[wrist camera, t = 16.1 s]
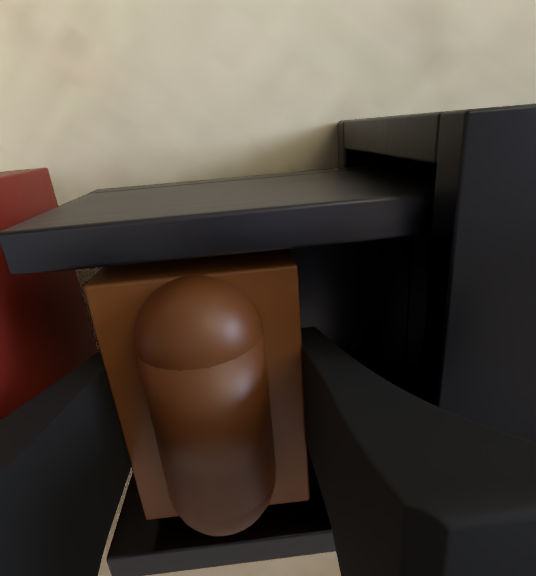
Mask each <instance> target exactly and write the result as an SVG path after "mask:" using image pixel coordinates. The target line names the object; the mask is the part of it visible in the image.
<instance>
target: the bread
mask: <svg viewBox="0 0 536 576" xmlns="http://www.w3.org/2000/svg"><path fill="white" fill-rule="evenodd" d="M84 292H85V296H86V300H87V303H88V307H89V311H90V314H91V318H92V322H93V325H94V329H95V333H96V337H97V340H98V344H99V348H100V351H101V355H102V359H103V362H104V366H105V370H106V374H107V377H108V381H109V385H110V388H111V392H112V396H113V399H114V403H115V407H116V411H117V414H118V418H119V422H120V425H121V429H122V433H123V436H124V440H125V444H126V448H127V451H128V455H129V459H130V462H131V466H132V470H133V473H134V477H135V481H136V485H137V488H138V492H139V496H140V499H141V503H142V507H143V510H144V514H145V518H146V520H153V519H161V518H169V517H177V516H180V517H181V519H182V520H183V521H184V522H185V523H186V524H187V525H188V526H190V527H191V528H193V529H194V530H196V531H198V532H201V533H203V534H206V535H211V536H227V535H232V534H235V533H238V532H240V531H243V530H244V529H246V528H248V527H249V526H251V525H252V524H253V523H254V522H255V521H256V520H258V518H259V517H260V516H261V515H262V513H263V512H264V511H265V509H266V508H267V506H268V505H275V504H283V503H291V502H300V501H307V500H309V498H310V491H309V472H308V453H307V439H306V419H305V400H304V381H303V362H302V338H301V318H300V299H299V280H298V267H297V264H296V262H295V260H294V258H293V256H292V253H291V251H290V249H283V250H273V251H263V252H252V253H242V254H231V255H221V256H210V257H200V258H190V259H179V260H169V261H158V262H148V263H138V264H127V265H117V266H106V267H102V268H101V269H100V270H99V271H98V272H97V273H96V274H95V275H94V276H93V277H92V278H91V279H90V280H89V281H88V282H87V283H86V284H85V285H84Z"/></svg>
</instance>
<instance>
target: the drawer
mask: <svg viewBox="0 0 536 576" xmlns="http://www.w3.org/2000/svg"><path fill="white" fill-rule="evenodd" d="M436 169H437V164H432V163H426V162H420V161H415V162H403V163H392V164H381V165H369V166H358V167H347V168H335V169H324V170H313V171H301V172H290V173H279V174H267V175H256V176H245V177H233V178H222V179H211V180H199V181H188V182H177V183H165V184H154V185H143V186H131V187H120V188H109V189H97V190H95V191H93V192H90V193H88V194H86V195H84V196H82V197H79V198H77V199H75V200H72V201H70V202H68V203H65V204H63V205H61V206H58V205H57V201H56V197H55V194H54V190H53V186H52V183H51V179H50V175H49V172H48V169H47V168H37V169H26V170H14V171H5V172H0V420H1V419H2V418H4V417H5V416H7V415H8V414H10V413H11V412H13V411H14V410H16V409H17V408H19V407H20V406H22V405H23V404H25V403H26V402H28V401H29V400H31V399H32V398H34V397H35V396H37V395H38V394H40V393H41V392H43V391H44V390H45V389H47V388H48V387H50V386H51V385H52V384H54V383H55V382H57V381H58V380H59V379H61V378H62V377H64V376H65V375H66V374H68V373H69V372H70V371H72V370H73V369H75V368H76V367H77V366H79V365H80V364H82V363H83V362H84V361H86V360H87V359H89V358H90V357H92V356H93V355H95V354H96V353H98V351H97V347H96V344H95V340H94V336H93V333H92V329H91V325H90V322H89V318H88V314H87V311H86V307H85V303H84V300H83V296H82V292H81V289H80V285H79V281H78V278H77V274H76V270H75V269H85V268H96V267H106V266H117V265H127V264H138V263H148V262H158V261H169V260H179V259H190V258H200V257H210V256H221V255H231V254H242V253H252V252H263V251H273V250H283V249H290V251H291V253H292V256H293V258H294V260H295V262H296V264H297V267H298V280H299V299H300V318H301V328H305V327H316V328H317V329H318V330H319V331H321V332H322V333H323V334H324V335H325V336H326V337H328V338H329V339H330V340H331V341H332V342H334V343H335V344H336V345H337V346H338V347H340V348H341V349H342V350H343V351H345V352H346V353H347V354H349V355H350V356H351V357H353V358H354V359H355V360H357V361H358V362H360V363H361V364H362V365H364V366H365V367H367V368H368V369H370V370H371V371H373V372H374V373H376V374H377V375H379V376H380V377H382V378H384V379H385V380H387V381H389V382H390V383H392V384H394V385H395V386H397V387H399V388H401V389H403V390H405V391H407V392H409V393H410V394H412V395H414V396H416V397H418V398H419V389H420V376H421V363H422V350H423V337H424V324H425V311H426V298H427V285H428V272H429V259H430V246H431V234H432V221H433V208H434V195H435V182H436ZM307 453H308V472H309V491H310V498H309V500H307V501H300V502H291V503H283V504H275V505H268V506H267V508H266V509H265V511H264V512H263V513H262V515H261V516H260V517H259V518H258V520H256V521H255V522H254V523H253V524H252V525H251V526H249V527H248V528H246V529H244V530H243V531H240V532H238V533H235V534H232V535H227V536H211V535H206V534H203V533H201V532H198V531H196V530H194V529H193V528H191V527H190V526H188V525H187V524H186V523H185V522H184V521H183V520H182V519H181V517H180V516H177V517H169V518H161V519H153V520H146V518H145V514H144V510H143V507H142V503H141V499H140V496H139V492H138V488H137V485H136V481H135V477H134V473H132V476H131V479H130V483H129V486H128V489H127V493H126V496H125V499H124V503H123V506H122V509H121V513H120V516H119V519H118V522H117V526H116V529H115V532H114V536H113V539H112V542H111V546H110V549H109V552H108V556H107V563H108V566H109V569H110V572H111V575H112V576H145V575H153V574H161V573H168V572H176V571H184V570H192V569H200V568H208V567H216V566H223V565H231V564H239V563H247V562H255V561H263V560H271V559H279V558H286V557H294V556H302V555H310V554H318V553H326V552H334V551H336V548H335V543H334V538H333V533H332V529H331V524H330V520H329V517H328V513H327V509H326V505H325V502H324V499H323V496H322V493H321V489H320V486H319V483H318V480H317V476H316V473H315V470H314V467H313V464H312V460H311V457H310V454H309V451H308V447H307Z"/></svg>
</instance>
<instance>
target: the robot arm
mask: <svg viewBox="0 0 536 576" xmlns="http://www.w3.org/2000/svg"><path fill="white" fill-rule="evenodd" d="M301 338H302V362H303V381H304V400H305V419H306V439H307V447H308V451H309V454H310V457H311V460H312V464H313V467H314V470H315V473H316V476H317V480H318V483H319V486H320V489H321V493H322V496H323V499H324V502H325V505H326V509H327V513H328V517H329V520H330V524H331V529H332V533H333V538H334V543H335V548H336V552H337V557H338V562H339V567H340V571H341V576H536V442H533V441H530V440H526V439H523V438H520V437H517V436H514V435H511V434H508V433H505V432H502V431H499V430H496V429H493V428H490V427H487V426H484V425H482V424H479V423H476V422H474V421H471V420H468V419H466V418H463V417H461V416H458V415H456V414H454V413H451V412H449V411H446V410H444V409H442V408H439V407H437V406H435V405H433V404H430V403H428V402H426V401H424V400H422V399H420V398H418V397H416V396H414V395H412V394H410V393H409V392H407V391H405V390H403V389H401V388H399V387H397V386H395V385H394V384H392V383H390V382H389V381H387V380H385V379H384V378H382V377H380V376H379V375H377V374H376V373H374V372H373V371H371V370H370V369H368V368H367V367H365V366H364V365H362V364H361V363H360V362H358V361H357V360H355V359H354V358H353V357H351V356H350V355H349V354H347V353H346V352H345V351H343V350H342V349H341V348H340V347H338V346H337V345H336V344H335V343H334V342H332V341H331V340H330V339H329V338H328V337H326V336H325V335H324V334H323V333H322V332H321V331H319V330H318V329H317V328H316V327H305V328H301ZM130 469H131V462H130V459H129V455H128V451H127V448H126V444H125V440H124V436H123V433H122V429H121V425H120V422H119V418H118V414H117V411H116V407H115V403H114V399H113V396H112V392H111V388H110V385H109V381H108V377H107V374H106V370H105V366H104V362H103V359H102V355H101V351H99V352H98V353H96V354H95V355H93V356H92V357H90V358H89V359H87V360H86V361H84V362H83V363H82V364H80V365H79V366H77V367H76V368H75V369H73V370H72V371H70V372H69V373H68V374H66V375H65V376H64V377H62V378H61V379H59V380H58V381H57V382H55V383H54V384H52V385H51V386H50V387H48V388H47V389H45V390H44V391H43V392H41V393H40V394H38V395H37V396H35V397H34V398H32V399H31V400H29V401H28V402H26V403H25V404H23V405H22V406H20V407H19V408H17V409H16V410H14V411H13V412H11V413H10V414H8V415H7V416H5V417H4V418H2V419H1V420H0V576H98V572H99V568H100V564H101V559H102V555H103V551H104V548H105V545H106V541H107V538H108V534H109V531H110V528H111V525H112V522H113V519H114V516H115V513H116V510H117V507H118V504H119V501H120V498H121V495H122V492H123V489H124V487H125V484H126V481H127V478H128V475H129V472H130Z"/></svg>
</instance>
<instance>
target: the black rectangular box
mask: <svg viewBox="0 0 536 576" xmlns="http://www.w3.org/2000/svg"><path fill="white" fill-rule="evenodd" d="M415 161H420V162H426V163H432V164H437V169H436V182H435V195H434V208H433V221H432V234H431V246H430V259H429V272H428V285H427V298H426V311H425V324H424V337H423V350H422V363H421V376H420V389H419V398H420V399H422V400H424V401H426V402H428V403H430V404H433V405H435V406H437V407H439V408H442V409H444V410H446V411H449V412H451V413H454V414H456V415H458V416H461V417H463V418H466V419H468V420H471V421H474V422H476V423H479V424H482V425H484V426H487V427H490V428H493V429H496V430H499V431H502V432H505V433H508V434H511V435H514V436H517V437H520V438H523V439H526V440H530V441H533V442H536V104H528V105H516V106H504V107H492V108H480V109H468V110H456V111H445V112H434V113H423V114H411V115H400V116H389V117H377V118H366V119H355V120H344V121H339V122H338V168H347V167H358V166H369V165H381V164H392V163H403V162H415Z"/></svg>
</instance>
